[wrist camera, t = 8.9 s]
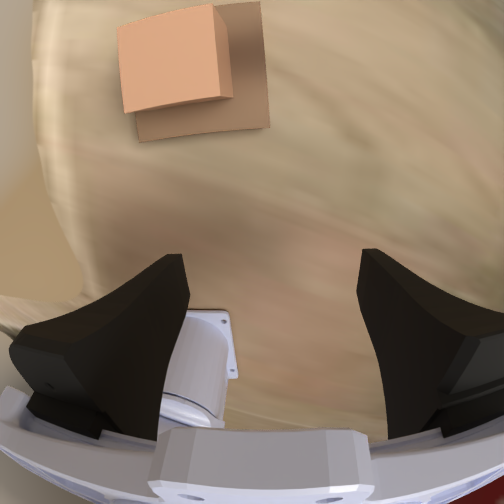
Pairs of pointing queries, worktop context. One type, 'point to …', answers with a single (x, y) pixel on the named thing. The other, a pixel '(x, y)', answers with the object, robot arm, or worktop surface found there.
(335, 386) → the worktop surface
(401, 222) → the worktop surface
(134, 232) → the worktop surface
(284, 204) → the worktop surface
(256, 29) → the walnut block
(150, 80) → the cube
